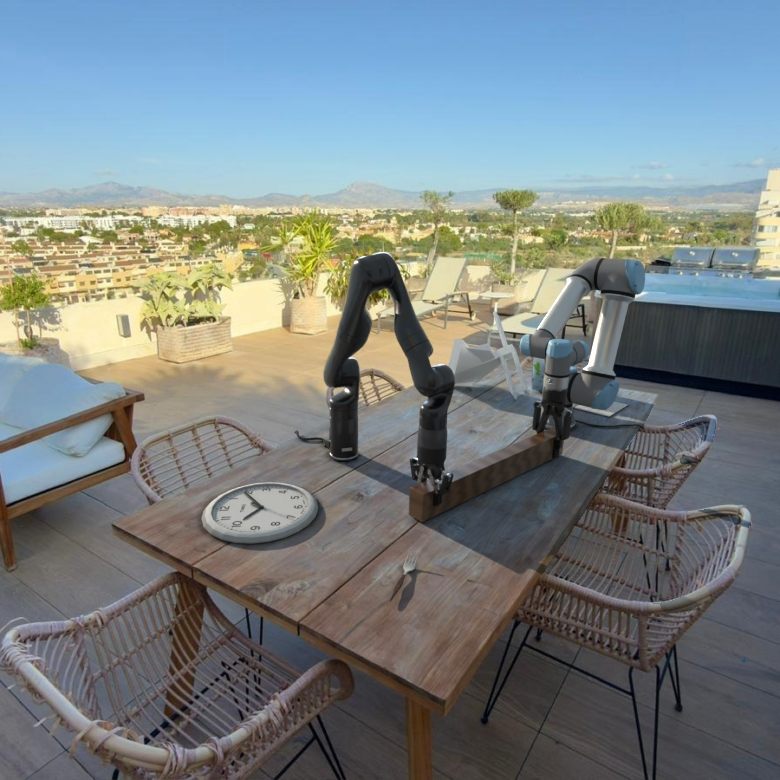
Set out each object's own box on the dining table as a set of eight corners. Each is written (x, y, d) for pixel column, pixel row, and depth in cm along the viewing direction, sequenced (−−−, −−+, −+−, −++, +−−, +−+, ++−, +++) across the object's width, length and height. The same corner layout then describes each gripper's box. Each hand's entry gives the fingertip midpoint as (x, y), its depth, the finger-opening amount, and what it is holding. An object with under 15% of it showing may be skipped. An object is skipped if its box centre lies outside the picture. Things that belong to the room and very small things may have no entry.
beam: (549, 449, 180) (551, 427, 177) (562, 454, 176) (565, 432, 174) (408, 514, 138) (409, 487, 136) (421, 522, 135) (423, 495, 132)
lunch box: (547, 397, 237) (552, 352, 231) (526, 391, 245) (531, 348, 238) (574, 386, 255) (580, 344, 249) (554, 381, 262) (559, 340, 256)
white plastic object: (461, 429, 252) (437, 405, 227) (444, 352, 274) (420, 323, 250) (535, 404, 240) (518, 377, 215) (510, 326, 262) (492, 293, 237)
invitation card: (608, 416, 214) (573, 407, 224) (608, 416, 214) (573, 408, 224) (628, 404, 229) (594, 396, 238) (628, 405, 229) (594, 397, 238)
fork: (383, 601, 106) (384, 593, 106) (408, 557, 120) (408, 550, 120) (396, 605, 105) (396, 596, 105) (419, 560, 120) (419, 552, 119)
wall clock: (315, 535, 126) (186, 539, 123) (315, 541, 126) (187, 545, 123) (320, 478, 154) (216, 480, 152) (320, 483, 155) (216, 485, 152)
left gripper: (402, 436, 136) (400, 495, 141) (442, 455, 126) (439, 517, 131) (422, 430, 141) (420, 486, 146) (463, 447, 131) (459, 507, 136)
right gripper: (524, 383, 172) (518, 448, 179) (574, 397, 159) (565, 466, 166) (537, 379, 176) (531, 442, 184) (587, 392, 164) (578, 459, 171)
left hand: (429, 500), depth 138 cm, fingers closed on beam, 5 cm apart
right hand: (547, 453), depth 175 cm, fingers closed on beam, 5 cm apart
